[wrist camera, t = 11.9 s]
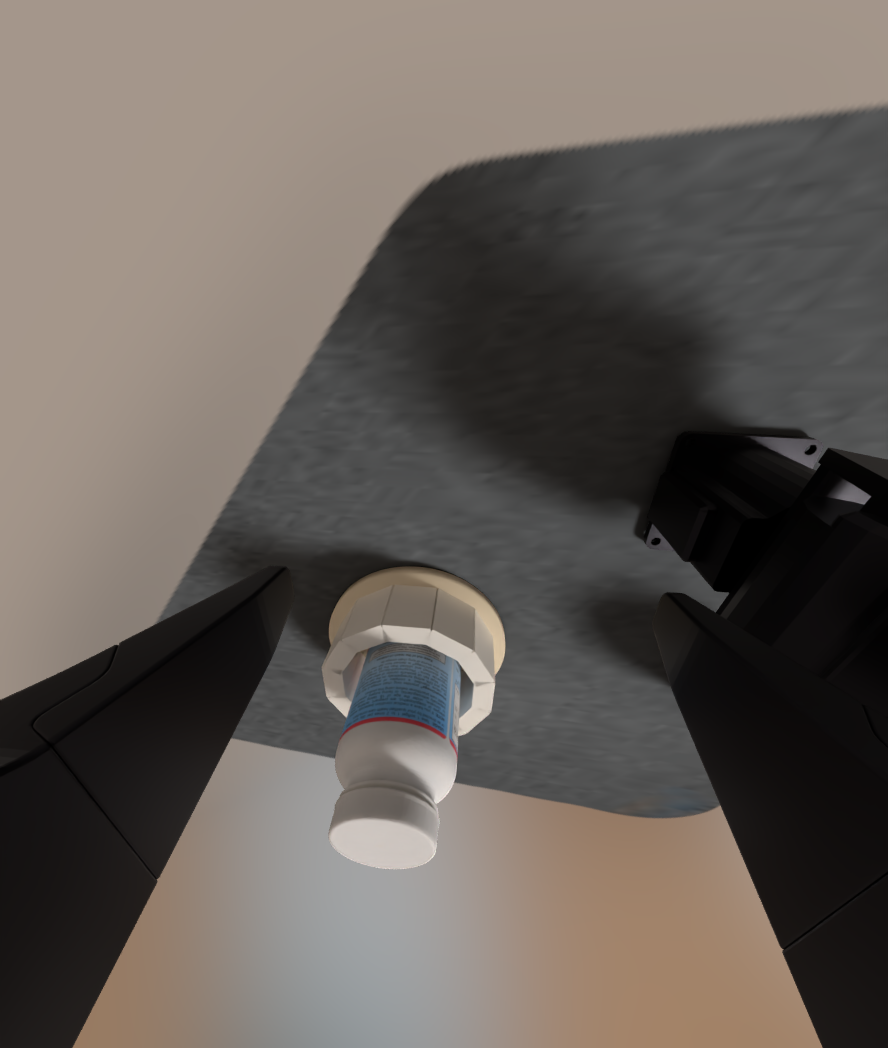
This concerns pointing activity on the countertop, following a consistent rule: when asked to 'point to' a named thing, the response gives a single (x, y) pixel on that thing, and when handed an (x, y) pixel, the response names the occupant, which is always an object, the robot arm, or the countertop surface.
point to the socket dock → (417, 632)
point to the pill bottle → (397, 756)
